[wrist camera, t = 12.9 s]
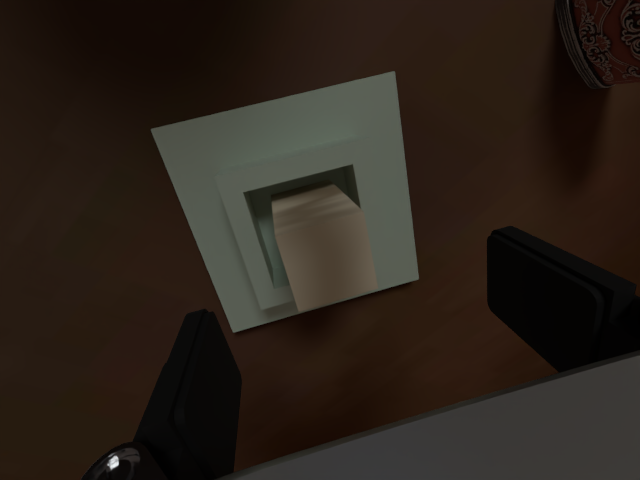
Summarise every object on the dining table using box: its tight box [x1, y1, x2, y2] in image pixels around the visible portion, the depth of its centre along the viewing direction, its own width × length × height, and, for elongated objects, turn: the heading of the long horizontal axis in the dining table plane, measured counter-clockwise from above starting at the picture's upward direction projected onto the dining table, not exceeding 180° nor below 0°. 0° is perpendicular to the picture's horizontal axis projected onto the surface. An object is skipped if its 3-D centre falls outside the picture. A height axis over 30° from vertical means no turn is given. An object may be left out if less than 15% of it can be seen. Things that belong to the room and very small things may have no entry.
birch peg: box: [271, 179, 378, 312], centre depth 18 cm, size 4×4×8 cm
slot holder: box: [151, 71, 419, 333], centre depth 21 cm, size 15×15×4 cm
